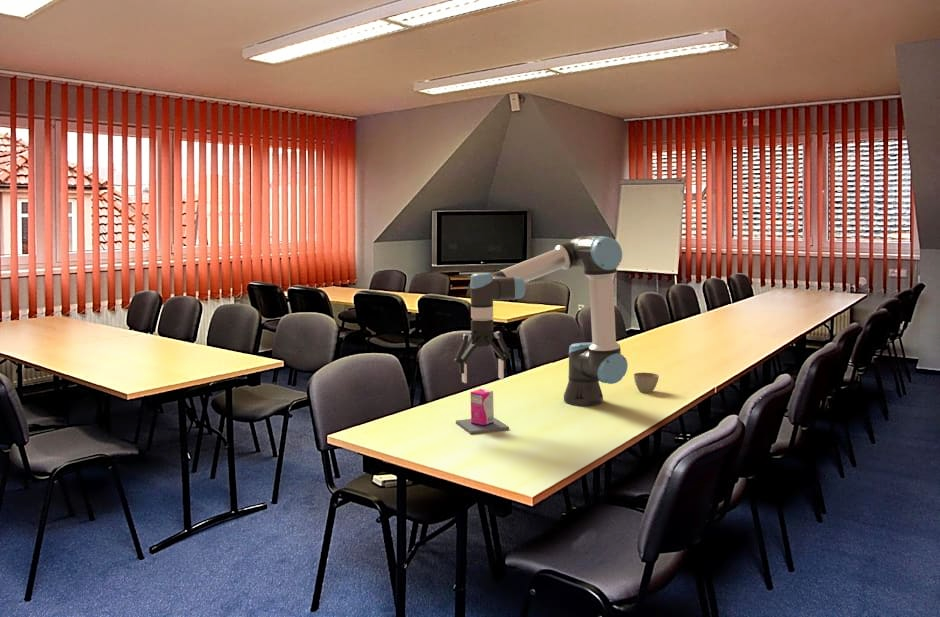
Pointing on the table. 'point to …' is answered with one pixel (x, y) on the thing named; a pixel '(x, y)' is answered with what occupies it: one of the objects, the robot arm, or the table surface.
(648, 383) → the flower pot
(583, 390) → the robot arm
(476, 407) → the supplement box
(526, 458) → the table surface
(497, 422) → the gray mat
